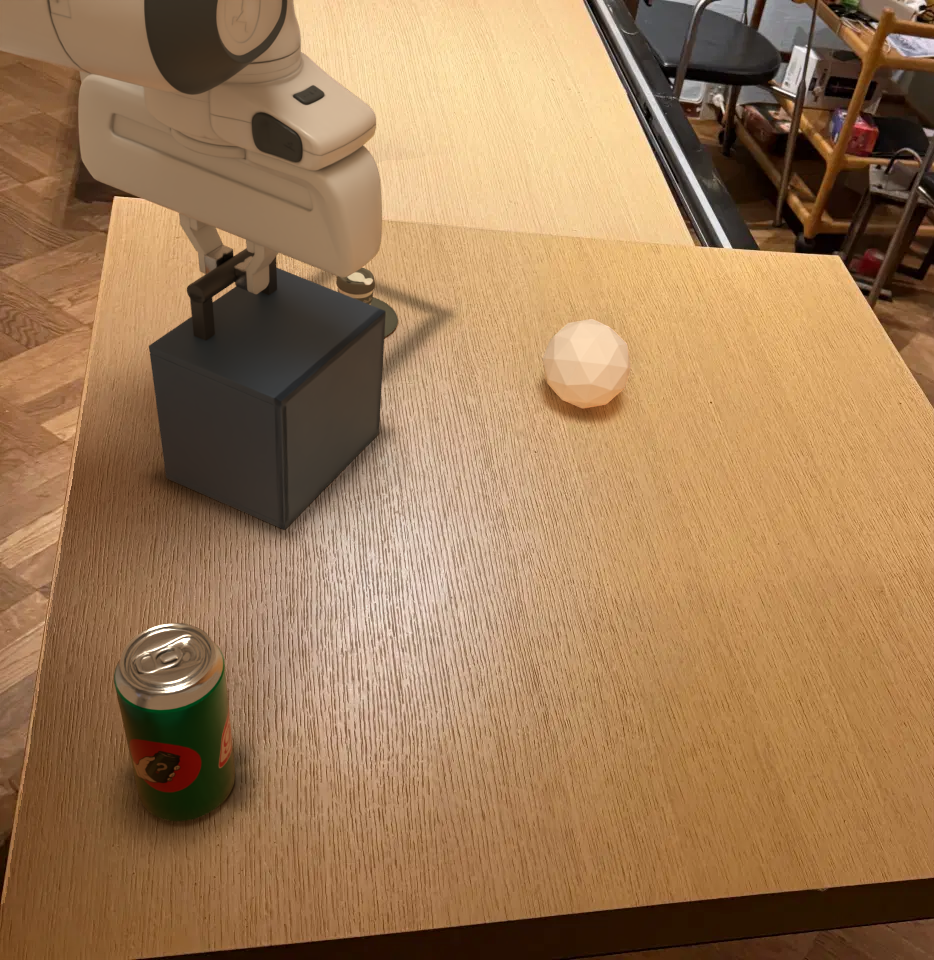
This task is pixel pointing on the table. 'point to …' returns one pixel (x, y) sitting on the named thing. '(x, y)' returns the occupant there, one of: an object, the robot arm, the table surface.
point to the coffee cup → (366, 294)
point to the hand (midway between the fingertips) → (235, 280)
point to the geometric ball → (586, 363)
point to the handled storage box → (267, 390)
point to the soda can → (176, 720)
